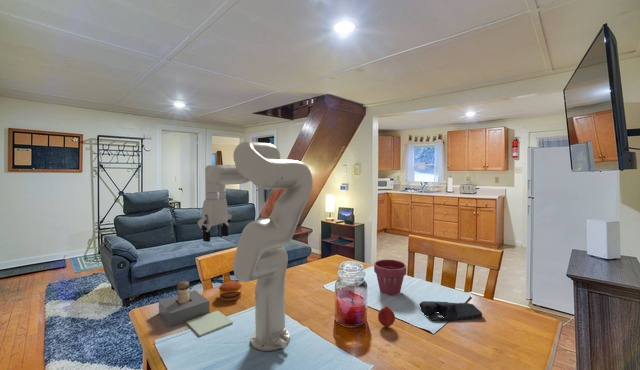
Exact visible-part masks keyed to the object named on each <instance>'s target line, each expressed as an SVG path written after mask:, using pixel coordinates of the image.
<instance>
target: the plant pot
mask: <svg viewBox="0 0 640 370" xmlns="http://www.w3.org/2000/svg"><path fill="white" fill-rule="evenodd" d="M373 272H374V273H375V274H376V280H377V283H378V287H379V288H378V289H379V292H380V293H381V292H382V293H381V294H383V295H385V294H387V295H386V296H398V295H399V294H400V293H401V290H402V286H403V281H404V278H405V276H406V275H407V265H406V263H404V262H402V261H400V260H396V259H380V260H379V259H378V260H376V261H375V262H374V264H373ZM397 294H398V295H397Z"/></svg>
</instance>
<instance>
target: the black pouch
mask: <svg viewBox="0 0 640 370" xmlns="http://www.w3.org/2000/svg"><path fill="white" fill-rule="evenodd" d="M418 305H420V307H421V308H420V307H419V308H420V311H421V313H422V312H423V313H424V314H423V313H422V314H423V316H425V315H426V316H429V318H430V319H431V320H432V321H431V320H430V319H429V320H430V321H431V322H433V321H437V322H449V321H450V322H452V321H453V322H454V321H457V320H470V319H475V318H479V317H483V313H482V311H481V310H479V308H477V307H476V306H475V304H472V303H469V302H448V301H435V300H434V301H433V300H432V301H425V300H424V301H423V300H422V301H420V303H419V304H418ZM435 312H439V313H440V314H439V313H438V314H439V316H437V313H435ZM440 315H442V316H443V317H444V318H443V317H441V316H440ZM426 316H425V317H426Z"/></svg>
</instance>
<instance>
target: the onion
mask: <svg viewBox="0 0 640 370" xmlns="http://www.w3.org/2000/svg"><path fill="white" fill-rule="evenodd" d="M377 319H378V322H379V323H380V325H381V326H383V327H384V328H389V327H390V326H393V324H394V322H395V321H396V315H395V313H394V311H393V309H391V308H390V306H389V305H388V304H386V305H385V306H384V307H382V308H381V309H380V310H379V311H378V314H377Z"/></svg>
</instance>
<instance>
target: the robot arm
mask: <svg viewBox="0 0 640 370" xmlns="http://www.w3.org/2000/svg"><path fill="white" fill-rule="evenodd" d="M233 162H234V164H209V165H206V166H205V168H204V172H205V173H204V176H205V178H204V180H205V181H204V182H205V183H204V185H205V186H204V187H205V189H204V190H205V191H204V192H205V193H204V194H205V199H204V200H203V203H202V212H201V218H200V219H199V220H198V221H197V225H198V228H199V229H200V230H201V232H202V241H203V242H207V243H210V242H211V231H210V230H211V228H212V227H214V226H218V225H219V226H220V225H221V226H220V235H221V237H228V236H229V227H230V223H231V220H232V217H233V215H232V214H231V213H229V211H228V209H229V208H228V203H227V202H228V201H227V198H226V195H227V192H226V186H229V185H243V184H246V183H249V182H251V183H252V184H253V185H254V186H256V188H259V189H262V190H268V191H269V190H278V189H279V190H282V189H285V190H284V192H283V193H282V194H281V195H279V197H278V199H277V200H276V201H275V203H274V205H273V207H272V211H271V214H270V215H269V216H268V217H267V218H261V219H256V220H253V221H250V222H249V223H247V224H246V226H245V227H243V230H242V231H241V235H240V238H239V241H238V244H237V246H236V247H237V248H236V250H235V254H234V257H233V267H232V268H233V270H232V271H233V273H234V276H235V278H236V279H237V280H238V281H240V282H242V283H249V282H254V281H256V282H255V287H254V301H255V303H254V304H255V305H254V306H255V307H254V308H255V309H254V310H255V312H254V313H255V317H254V318H255V319H254V320H255V331H254V332H253V333H252V334H251V337H250V344H251V346H252V347H253V348H255V349H256V350H259V351H262V352H264V351H265V352H272V351H277V350H280V349H285V348H286V347H287V345H288V344H289V343H290V341H291V338H290V337H291V335H290V332H289V331H288V329H287V328H286V303H285V302H286V292H285V291H286V289H285V288H286V287H285V286H286V274H287V267H288V261H289V260H288V258H289V257H288V252H287V250H286V248H285V247H287V246H288V245H289V244H290V243H291V241H292V240H293V237H294V234H295V232H296V228H297V226H298V224H299V221H300V218H301V216H302V213H303V211H304V209H305V206H306V205H307V203H308V201H309V198H310V196H311V194H312V191H313V183H314V182H313V180H314V179H313V176H312V172H311V169H310V168H309V166H308V165H307V164H305V163H303V162H302V161H299V160H295V159H281V153H280V150H279V148H278V147H276V145H274V144H273V143H270V142H269V143H268V142H258V141H243V142H240V143H239V144H238V145H237V146H236V147H235V148H234V151H233Z"/></svg>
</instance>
